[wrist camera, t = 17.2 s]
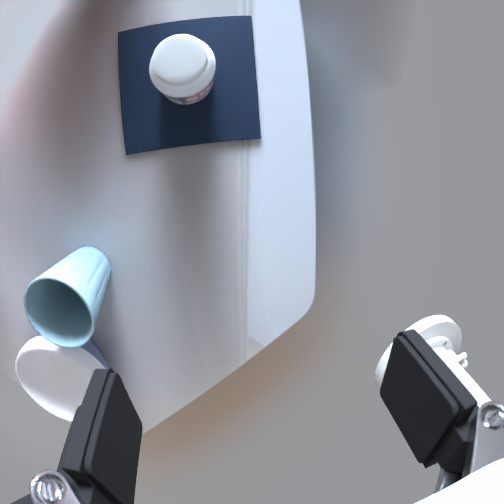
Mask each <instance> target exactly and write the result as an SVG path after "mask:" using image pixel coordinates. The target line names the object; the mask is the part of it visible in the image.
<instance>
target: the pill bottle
mask: <svg viewBox="0 0 504 504" xmlns="http://www.w3.org/2000/svg"><path fill="white" fill-rule="evenodd" d="M215 70H216V61H215V56H214V54H213V52H212V50H211V49H210V47H209V46H208V45H207V44H206V43H204V42H203V41H201V40H199V39H198V38H196V37H194V36H192V35H187V34H177V35H173V36H170V37H168V38H166V39H165V40H163V41H162V42H161V43H160V44H159V45H158V46H157V47H156V49H155V51H154V53H153V56H152V58H151V61H150V65H149V74H150V78H151V80H152V82H153V84H154V86H155V87H156V88H157V89H158V90H159V91H160V92H161V93H162V94H164V95H165V96H166V97H167V98H168V99H169V100H171V101H173V102H175V103H178V104H192V103H195V102H198V101H200V100H201V99H203V98H204V97H205V96H206V95H207V94H208V93H209V91H210V90H211V88H212V85H213V82H214V74H215Z"/></svg>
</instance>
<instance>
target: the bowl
mask: <svg viewBox="0 0 504 504" xmlns="http://www.w3.org/2000/svg"><path fill="white" fill-rule="evenodd" d="M15 369H16V374H17V377H18V379H19V382H20V384H21V385H22V387H23V388H24V390H25V391H26V393H27V394H28V395H29V396H30V397H31V398H32V399H33V400H34V401H35V402H36V403H37V404H38V405H39V406H41V407H42V408H44V409H45V410H46V411H48V412H49V413H51V414H53V415H55V416H57V417H59V418H61V419H64V420H66V421H69V422H72V421H73V418H74V415H75V412H76V410H77V408H78V407H79V406H80V405H81V404H82V401H83V398H84V396H85V393H86V390H87V388H88V385H89V382H90V380H91V377H92V374H93V372H94V370H95V369H109V367H108V364H107V363H106V361H105V359H104V358H103V356H102V353H101V352H100V350H99V349H98V347H97V346H96V345H95V344H94V343H93V342H92V341H91V340H89V341H88V342H87V343H86V344H84V345H83V346H80V347H77V348H65V347H61V346H57V345H55V344H53V343H51V342H49V341H48V340H46V339H45V338H43V337H42V336H41V335H40V336H37V337H34V338H32V339H30V340H29V341H28V342H27V343H26V344H25V345H24V346H23V347H22V349H21V350H20V352H19V354H18V356H17V359H16V363H15Z"/></svg>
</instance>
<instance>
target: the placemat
mask: <svg viewBox="0 0 504 504" xmlns="http://www.w3.org/2000/svg"><path fill="white" fill-rule="evenodd" d="M177 34H187V35H192V36H194V37H196V38H198V39H199V40H201V41H203V42H204V43H206V44H207V45H208V46H209V47H210V49H211V50H212V52H213V54H214V56H215V61H216V70H215V74H214V82H213V85H212V88H211V90H210V91H209V93H208V94H207V95H206V96H205V97H204V98H203V99H201V100H200V101H198V102H195V103H192V104H178V103H175V102H173V101H171V100H169V99H168V98H167V97H166V96H165V95H164V94H162V93H161V92H160V91H159V90H158V89H157V88H156V87H155V86H154V84H153V82H152V80H151V78H150V74H149V65H150V61H151V58H152V56H153V53H154V51H155V49H156V47H157V46H158V45H159V44H160V43H161V42H162V41H163V40H165V39H166V38H168V37H170V36H173V35H177ZM118 56H119V82H120V98H121V111H122V122H123V133H124V142H125V151H126V155H129V154H134V153H140V152H146V151H152V150H158V149H165V148H172V147H179V146H187V145H195V144H203V143H212V142H222V141H232V140H244V139H258V138H261V135H260V121H259V108H258V94H257V81H256V69H255V56H254V44H253V32H252V21H251V16H227V17H212V18H200V19H191V20H183V21H175V22H168V23H162V24H156V25H150V26H145V27H140V28H135V29H131V30H126V31H122V32H118Z"/></svg>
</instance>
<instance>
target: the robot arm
mask: <svg viewBox="0 0 504 504" xmlns="http://www.w3.org/2000/svg"><path fill="white" fill-rule="evenodd" d="M466 358H467V354H466V353H465V352H464V353H461V354H459V355H456V354H455V353H454V352H453V344H452V343H451V341H450V340H449V339H448V338H446V337H443V336H439V337H434V338H431V339H429V340H427V341H425V340H424V339H423V338H422V336H421V335H420V334H419V333H418V332H417V331H416V330H415V329H410V330H406V331H402V332H399V333H398V334H397V337H396V338H394V340H393V344H392V348H391V352H390V355H389V359H388V363H387V367H386V370H385V374H384V377H383V381H382V384H381V387H380V395H381V398H382V400H383V401H384V403H385V405H386V406H387V408H388V410H389V411H390V413H391V415H392V417H393V419H394V420H395V422H396V424H397V425H398V427H399V429H400V431H401V432H402V434H403V436H404V438H405V439H406V441H407V443H408V445H409V446H410V448H411V450H412V452H413V453H414V455H415V457H416V459H417V461H418V462H419V463H423V465H424V466H425V468H427V467H429V466H431V465H433V464H436V463H437V462H438V463H439V465H440V467H441V469H440V473H439V477H438V480H437V484H436V488H435V491H434V494H433V495H431V496H429V497H427V498H425V499H423V500H421V501H419V502H417V503H415V504H504V405H503V404H501V403H500V402H496V401H491V400H490V399H489V397H488V396H487V395H486V394H485V393H484V392H483V390H482V389H481V388H480V387H479V386H478V385H477V384H476V382H475V381H474V380H473V379H472V378H471V377H470V375H469V374H468V373H467V372H466V371H465V370H464V369H465V368H467V366H468V363H467V361H466V360H465V359H466ZM141 437H142V423H141V420H140V418H139V416H138V414H137V412H136V410H135V408H134V406H133V404H132V402H131V400H130V398H129V396H128V393H127V391H126V389H125V387H124V385H123V382H122V380H121V378H120V375H119V374H118V373H115V372H114V371H113V370H112V369H95V370H94V372H93V374H92V377H91V380H90V382H89V385H88V388H87V390H86V393H85V396H84V398H83V401H82V404H81V405H80V406H79V407H78V408H77V410H76V412H75V415H74V418H73V421H72V424H71V427H70V430H69V433H68V436H67V439H66V442H65V445H64V448H63V452H62V455H61V458H60V462H59V466H58V469H57V471H54V470H44V471H41V472H39V473H37V474H36V475H35V476H34V477H33V478H32V480H31V483H30V486H29V492H30V494H28V495H26V496H25V497H23V498H21V499H19V500H17V501H15V502H13V503H11V504H134V495H135V486H136V475H137V467H138V459H139V451H140V444H141Z"/></svg>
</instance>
